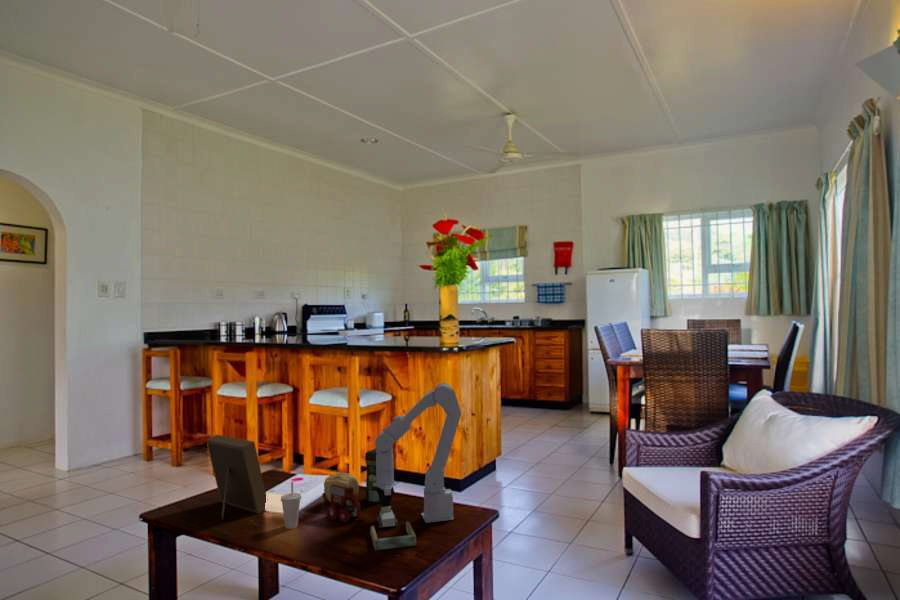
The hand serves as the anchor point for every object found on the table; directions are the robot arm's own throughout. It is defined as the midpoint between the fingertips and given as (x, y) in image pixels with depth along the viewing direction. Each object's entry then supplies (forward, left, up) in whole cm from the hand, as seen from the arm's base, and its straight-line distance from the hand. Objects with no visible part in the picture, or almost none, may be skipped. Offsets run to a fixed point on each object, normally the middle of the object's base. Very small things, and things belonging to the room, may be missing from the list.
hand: (385, 510), depth 175 cm
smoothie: (+30, -2, -3) cm, 30 cm away
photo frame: (+51, -23, -3) cm, 56 cm away
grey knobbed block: (0, +5, -3) cm, 6 cm away
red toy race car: (+13, -5, -3) cm, 14 cm away
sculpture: (+13, -20, -3) cm, 24 cm away
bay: (0, +17, -3) cm, 17 cm away
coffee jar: (0, -20, -3) cm, 20 cm away
